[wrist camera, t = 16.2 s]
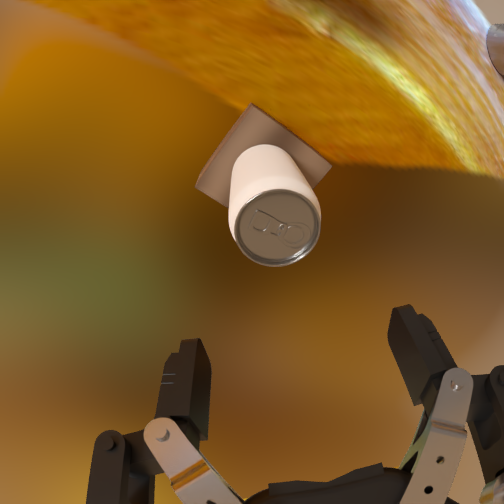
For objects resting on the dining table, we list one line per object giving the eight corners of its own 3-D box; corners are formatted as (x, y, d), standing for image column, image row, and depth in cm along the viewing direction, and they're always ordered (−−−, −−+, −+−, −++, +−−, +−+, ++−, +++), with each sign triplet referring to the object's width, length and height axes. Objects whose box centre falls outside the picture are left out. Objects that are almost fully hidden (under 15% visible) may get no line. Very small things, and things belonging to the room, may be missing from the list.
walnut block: (318, 152, 34) (332, 166, 29) (268, 213, 38) (272, 236, 33) (250, 102, 31) (253, 106, 26) (201, 170, 35) (194, 187, 30)
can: (279, 212, 32) (298, 282, 22) (222, 191, 30) (213, 254, 20) (307, 158, 29) (345, 206, 19) (246, 133, 27) (251, 166, 17)
